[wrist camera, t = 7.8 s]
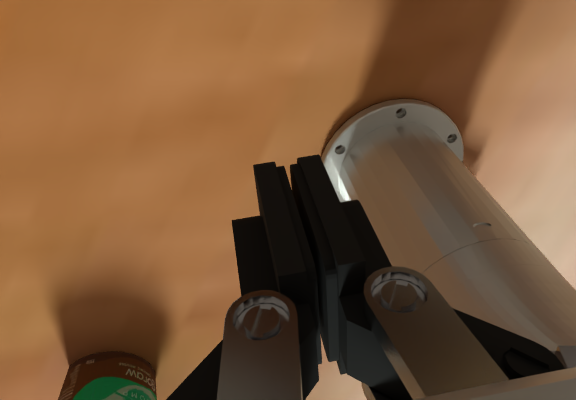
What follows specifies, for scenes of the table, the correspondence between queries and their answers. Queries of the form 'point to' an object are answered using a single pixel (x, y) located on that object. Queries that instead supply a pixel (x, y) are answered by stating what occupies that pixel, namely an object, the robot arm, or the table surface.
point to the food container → (109, 378)
